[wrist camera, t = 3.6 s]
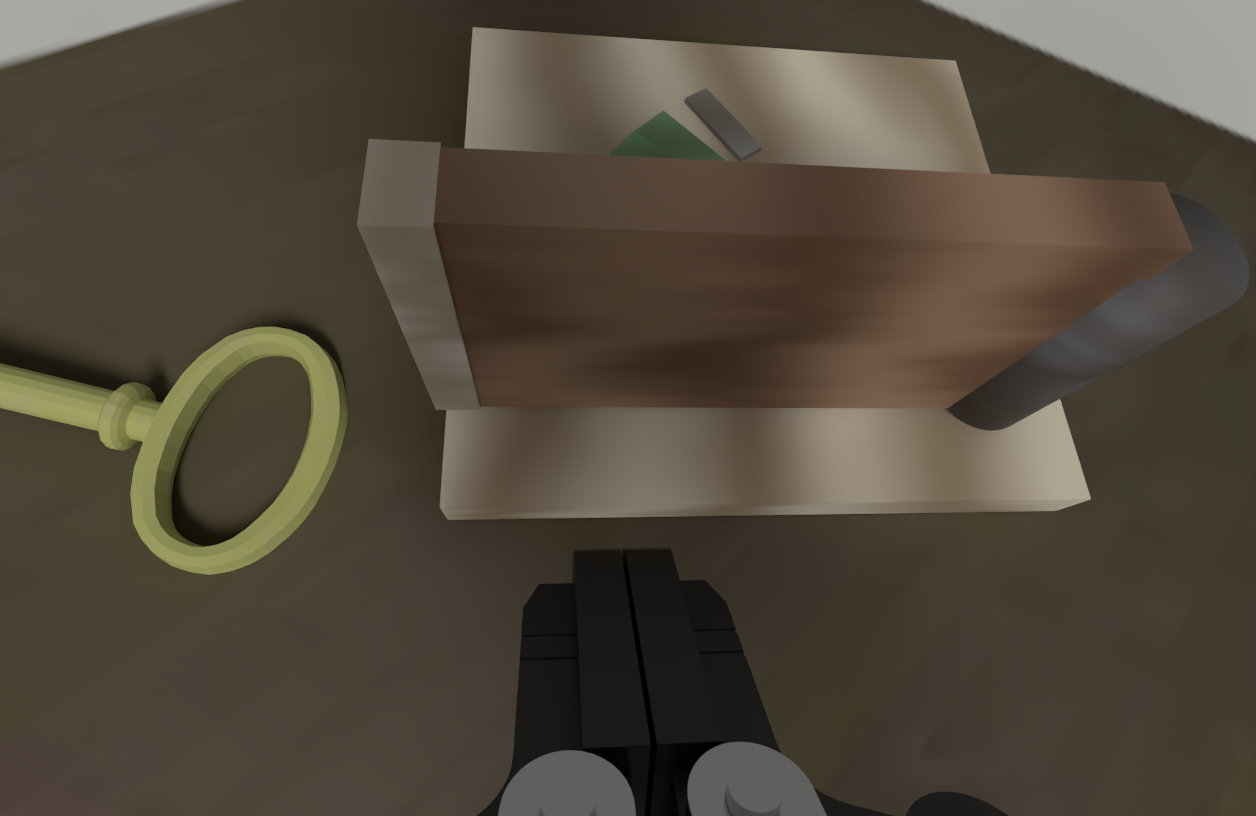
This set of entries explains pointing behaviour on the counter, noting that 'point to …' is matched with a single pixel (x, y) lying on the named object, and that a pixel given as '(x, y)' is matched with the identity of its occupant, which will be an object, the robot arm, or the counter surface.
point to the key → (170, 426)
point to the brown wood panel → (777, 280)
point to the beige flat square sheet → (734, 437)
